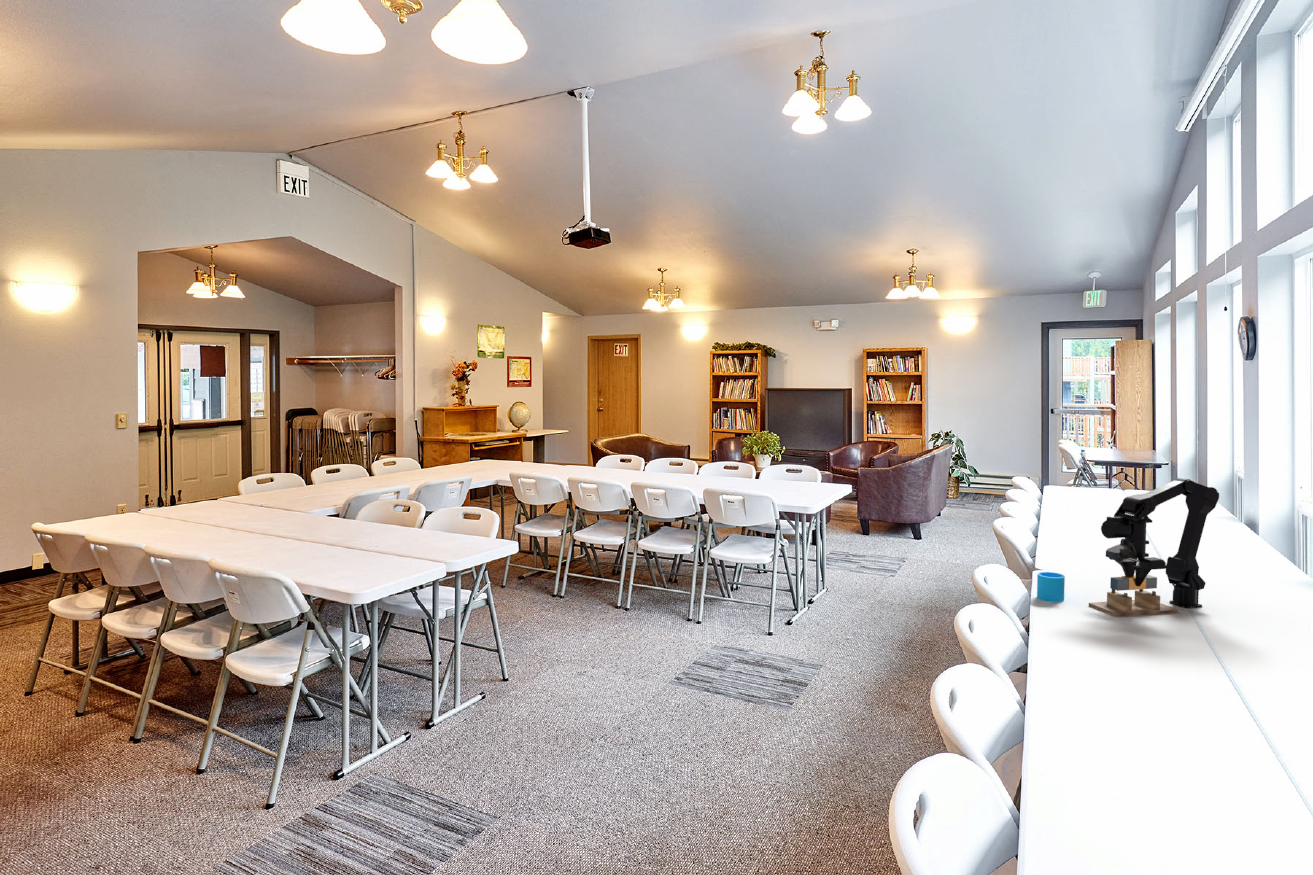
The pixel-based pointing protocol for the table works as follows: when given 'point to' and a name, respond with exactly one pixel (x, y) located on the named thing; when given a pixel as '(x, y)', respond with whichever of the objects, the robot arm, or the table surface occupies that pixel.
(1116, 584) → the spanner bar
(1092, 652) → the table surface
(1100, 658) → the table surface
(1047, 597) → the mug
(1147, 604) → the tool rack
